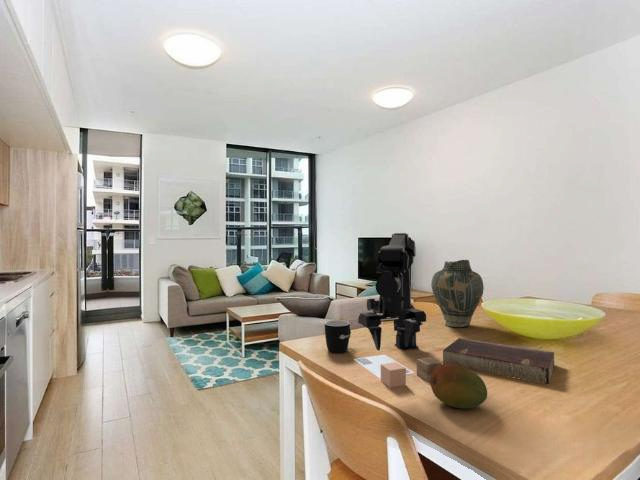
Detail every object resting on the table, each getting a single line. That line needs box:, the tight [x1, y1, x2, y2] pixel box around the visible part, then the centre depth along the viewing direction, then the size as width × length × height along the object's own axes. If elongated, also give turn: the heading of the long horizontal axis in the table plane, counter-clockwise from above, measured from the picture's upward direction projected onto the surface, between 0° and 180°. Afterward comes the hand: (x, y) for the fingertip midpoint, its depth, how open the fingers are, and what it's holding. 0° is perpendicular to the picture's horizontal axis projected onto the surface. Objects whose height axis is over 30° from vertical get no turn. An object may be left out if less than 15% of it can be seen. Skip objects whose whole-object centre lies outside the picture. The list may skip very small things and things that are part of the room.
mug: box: [324, 319, 352, 354], centre depth 134 cm, size 12×9×10 cm
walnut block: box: [416, 356, 443, 382], centre depth 108 cm, size 5×5×5 cm
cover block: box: [380, 361, 407, 389], centre depth 104 cm, size 5×5×5 cm
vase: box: [430, 259, 485, 328], centre depth 168 cm, size 22×22×30 cm
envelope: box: [353, 354, 415, 380], centre depth 117 cm, size 12×18×1 cm, turn 20°
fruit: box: [429, 363, 488, 409], centre depth 91 cm, size 12×12×10 cm
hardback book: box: [442, 337, 555, 385], centre depth 118 cm, size 29×19×5 cm, turn 54°
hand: (392, 348), depth 103 cm, fingers open, 9 cm apart
